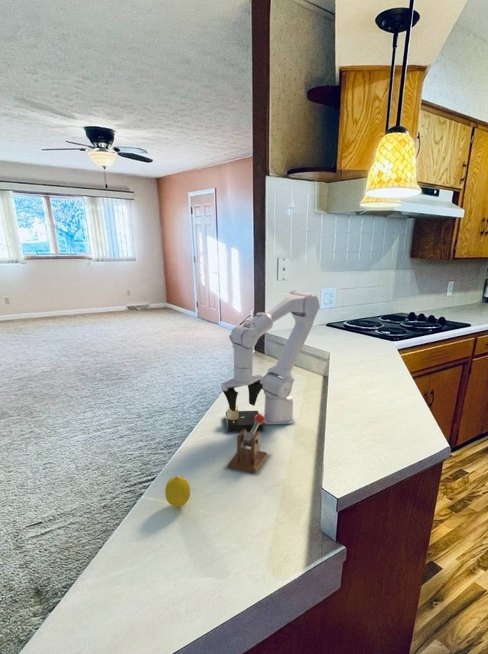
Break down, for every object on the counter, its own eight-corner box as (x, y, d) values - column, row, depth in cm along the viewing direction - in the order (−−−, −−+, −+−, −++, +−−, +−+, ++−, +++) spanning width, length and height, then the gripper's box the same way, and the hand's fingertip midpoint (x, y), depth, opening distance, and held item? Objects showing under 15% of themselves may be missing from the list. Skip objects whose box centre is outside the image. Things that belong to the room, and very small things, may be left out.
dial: (238, 420, 133) (239, 409, 132) (227, 420, 132) (227, 409, 131) (237, 415, 136) (238, 404, 135) (226, 415, 136) (227, 405, 134)
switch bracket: (241, 451, 120) (241, 423, 116) (267, 456, 118) (268, 428, 115) (227, 468, 111) (227, 439, 107) (255, 473, 109) (256, 444, 106)
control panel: (257, 417, 142) (257, 410, 141) (262, 431, 132) (262, 423, 131) (220, 418, 140) (220, 411, 139) (221, 432, 130) (221, 425, 129)
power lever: (256, 419, 121) (255, 411, 119) (266, 421, 120) (265, 413, 118) (242, 446, 112) (241, 437, 110) (252, 448, 111) (251, 439, 109)
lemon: (184, 515, 91) (183, 485, 88) (161, 511, 92) (159, 481, 89) (194, 501, 96) (193, 472, 93) (172, 497, 97) (171, 468, 94)
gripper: (253, 359, 131) (252, 398, 136) (215, 366, 122) (215, 408, 127) (268, 364, 126) (266, 405, 132) (229, 372, 117) (228, 416, 122)
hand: (242, 407), depth 129 cm, fingers open, 7 cm apart
